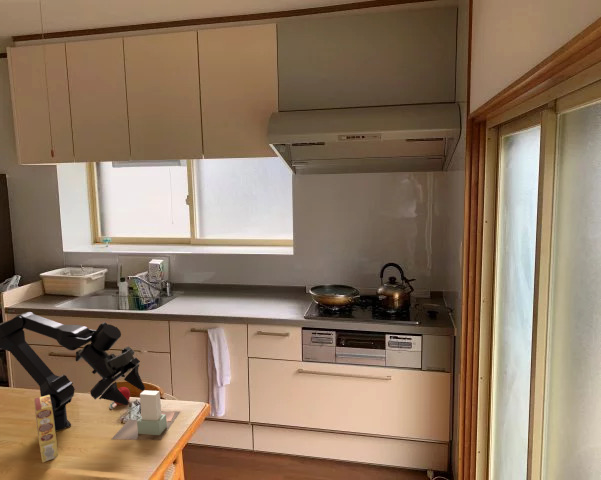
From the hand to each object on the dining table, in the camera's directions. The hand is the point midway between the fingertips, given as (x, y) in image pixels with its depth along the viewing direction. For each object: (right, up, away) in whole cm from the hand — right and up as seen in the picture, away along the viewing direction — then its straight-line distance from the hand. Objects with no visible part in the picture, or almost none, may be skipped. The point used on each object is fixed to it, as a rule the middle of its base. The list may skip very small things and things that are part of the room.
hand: (136, 396), depth 135 cm
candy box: (-22, -14, -8) cm, 27 cm away
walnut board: (+2, -11, +4) cm, 12 cm away
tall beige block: (+5, -10, 0) cm, 11 cm away
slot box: (+5, -10, 0) cm, 11 cm away
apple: (-12, -10, +19) cm, 25 cm away
